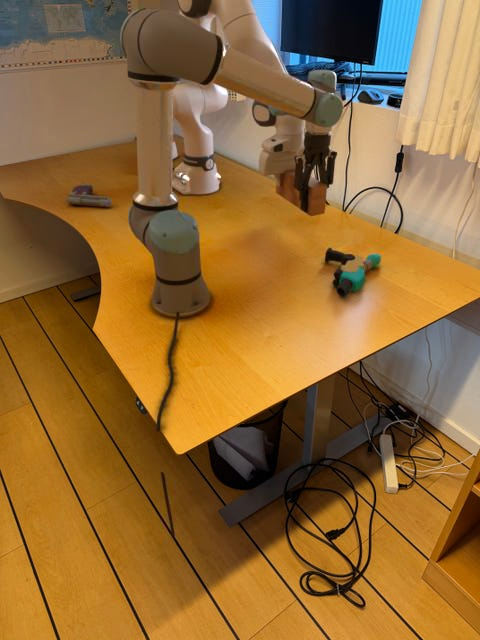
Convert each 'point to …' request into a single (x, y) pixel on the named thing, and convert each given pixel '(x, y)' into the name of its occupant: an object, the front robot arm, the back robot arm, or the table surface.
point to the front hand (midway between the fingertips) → (311, 208)
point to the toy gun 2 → (350, 270)
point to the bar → (314, 188)
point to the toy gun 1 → (87, 197)
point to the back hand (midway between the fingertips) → (287, 184)
